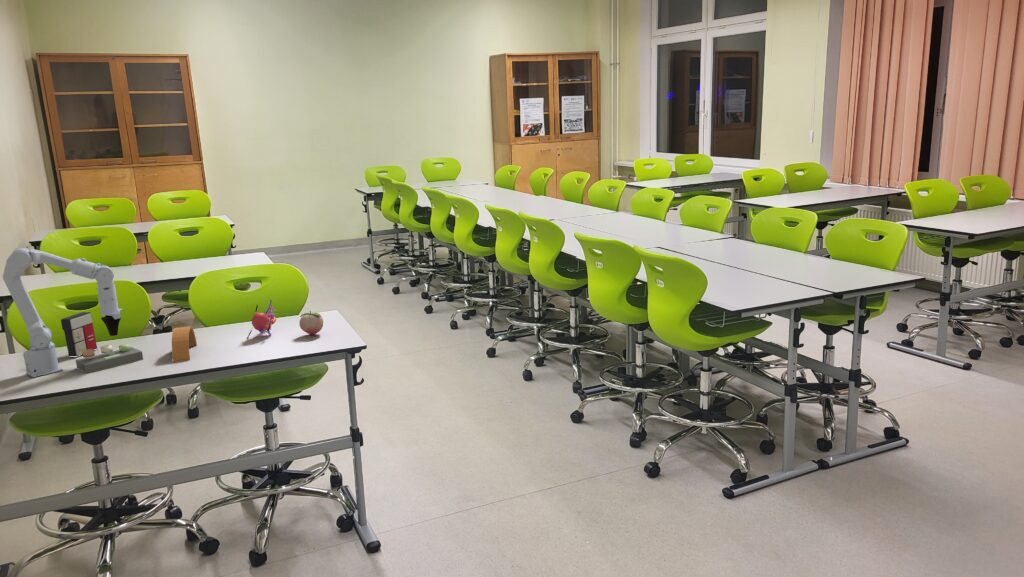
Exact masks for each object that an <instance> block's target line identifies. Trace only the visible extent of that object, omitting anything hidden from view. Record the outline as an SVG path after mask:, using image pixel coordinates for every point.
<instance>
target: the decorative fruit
mask: <svg viewBox="0 0 1024 577" xmlns="http://www.w3.org/2000/svg"><path fill="white" fill-rule="evenodd" d="M299 317H300V319H299V327H300V329H301V330H302V331H303V332H305V333H306V334H308V335H311V336H315V335H316V334H317V333H320V332H321V331H322V329H323V326H324V319H323V316H322V314H320V312H319V313H318V312H312V311H311V310H309V312H304V313H302V314H301V315H300V316H299Z"/></svg>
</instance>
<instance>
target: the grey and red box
mask: <svg viewBox="0 0 1024 577" xmlns="http://www.w3.org/2000/svg"><path fill="white" fill-rule="evenodd" d="M91 313H92V312H90V311H82V312H79V313H76V314H72V315H70V316H67V317H63V318H61V319H60V323H61V329H62V330H63V332H64V337H65V341H66V342H65V343H66V347H67V353H68V357H69V356H79V355H81V354H83V353H82V351H84V350H88V349H96V348H97V349H98V346H97V340H96V335H95V330H94V329H95V327H94V324H93V318H92V314H91ZM97 349H96V350H97ZM81 356H82V355H81ZM79 357H80V356H79Z"/></svg>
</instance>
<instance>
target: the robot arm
mask: <svg viewBox="0 0 1024 577" xmlns="http://www.w3.org/2000/svg"><path fill="white" fill-rule="evenodd" d="M32 263H33V266H35V265H40V264H46V265H51V266H54V267H59V268H63V269H67V270H70V272H71V274H73V275H75V276H78V277H82V278H85V279H89V280H94V279H95V281H96V284H97V288H96V290H97V297H98V301H99V302H98V303H99V307H100V313H99V314H100V315H101V316H102V317H100V319H101V320H102V322H103V323H104V326H105V327H106V329H107V331H108V334H109V336H110V337H114V336H118V334H119V324H120V321H121V319H122V315H121V313H120V312H122V311H123V308H119V303H118V302H119V301H118V295H117V291H116V290H117V289H116V285H115V280H114V276H115V275H114V272H113V269H112V268H111V267H110V266H108V265H106V264H101V263H100V262H97V263H94V262H92V261H88V260H87V258H84V257H82V258H75V259H73V260H71V259H69V258H65V257H62V256H58V255H56V254H53V253H49V252H46V251H43V250H39V249H34V248H28V247H24V246H21V247H18V248H15V249H13V251H12V252H11V254H10V255H9V256H8V258H7V259H6V261H5V266H4V270H3V274H2V279H3V282H4V283H5V286H6V288H7V290H8V291H9V293H10V296H11V297H12V300H13V302H14V304H15V306H16V308H17V310H18V312H19V314H20V316H21V318H22V320H23V322H24V325H25V326H26V331H27V334H28V335H29V336H28V337H29V338H28V339H29V340H28V342H29V344H30V349H29V350H25V351H23V359H24V364H25V370H26V374H27V375H29V376H30V377H31V378H36V377H40V376H44V375H49V374H53V373H57V372H60V371H64V368H62V367H61V366H59V361H58V356H57V351H56V350H57V349H56V344H55V343H54V342H53V341H52V337H53V332H52V330H51V329H50V328H49V327H48V326H46V324H45V323H44V321H43V319H42V318H41V317H40V314H39V313H38V310H37V308H36V306H35V303H34V302H33V300H32V298H31V296H30V294H29V292H28V290H27V288H26V286H25V284H24V282H23V279H22V278H21V276H22V274H23V273H24V271H25V270H26V269H27V268H28V267H29V266H31V264H32Z"/></svg>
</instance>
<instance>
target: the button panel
mask: <svg viewBox="0 0 1024 577" xmlns="http://www.w3.org/2000/svg"><path fill="white" fill-rule="evenodd" d="M142 360H144V355H143V351H142V350H139V349H137V348H134V347H132V346H130V350H129V351H126V352H120V351H119V349H116V350H113V351H112V352H109V353H101V354H96V355H94V356H92V357H87V358H84V357H82V358H79V359H75V364H76V368H77V369H78V368H79V369H78V370H80V371H81V370H82V371H81V372H84V373H85V374H90V373H94V372H98V371H101V370H105V369H109V368H113V367H117V366H121V365H126V364H129V363H133V362H137V361H142Z"/></svg>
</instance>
